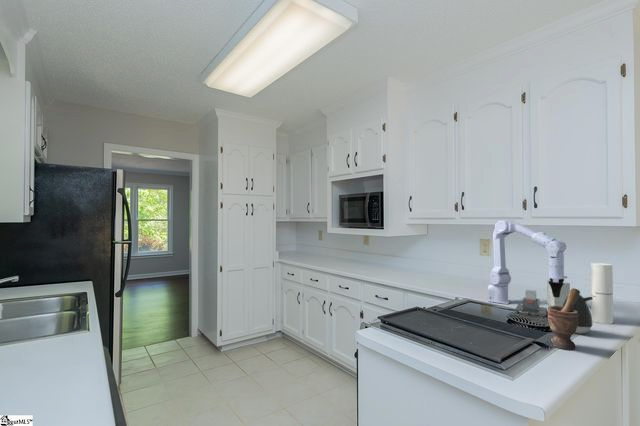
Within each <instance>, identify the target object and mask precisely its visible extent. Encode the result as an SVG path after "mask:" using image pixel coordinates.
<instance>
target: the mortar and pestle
mask: <svg viewBox="0 0 640 426" xmlns="http://www.w3.org/2000/svg"><path fill="white" fill-rule="evenodd" d="M579 295H581V291H580V289H577V288H573V287H572V288H571V289H570V292H569V295H568V299H567V302H566V305H565V307H561V306H550V305H548V306H547V321H548V324H549V328H550V330H551V331H552V333H553V334H554V336H553V337H552V338H550V339H551V341H552V343H553V346H552V348H553V347H554V348H558V349H562V350H569V351H571V350H572V351H573V350H575V349H576V348H577V347H576V346H577V345H576V344H575V342H574V341H573V340H572V339H571V337H572V336H573V335H575V334H576V333H575V332H576V329H577V325H578V312H577V311H576V310H574V309H572V307H573V305H574V303H575V302H576V300H577V299H578V297H579Z"/></svg>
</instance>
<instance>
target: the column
mask: <svg viewBox="0 0 640 426" xmlns="http://www.w3.org/2000/svg"><path fill="white" fill-rule="evenodd" d="M525 297H526V300H531V301H537V300H536V299H537V290H534V289H533V290H530V289H526V290H525Z"/></svg>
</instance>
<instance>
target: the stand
mask: <svg viewBox="0 0 640 426" xmlns="http://www.w3.org/2000/svg"><path fill="white" fill-rule="evenodd" d="M536 300H537V301H531V300H526V296H524V297H523V298H522V304H520V303H519V304H517V305H516V306H515V309H514V312H515V311H522V312H528V313H534V314H539V315H544V316H546V317H547V315H548V307H542V306H541V307H540V298H536Z"/></svg>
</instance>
